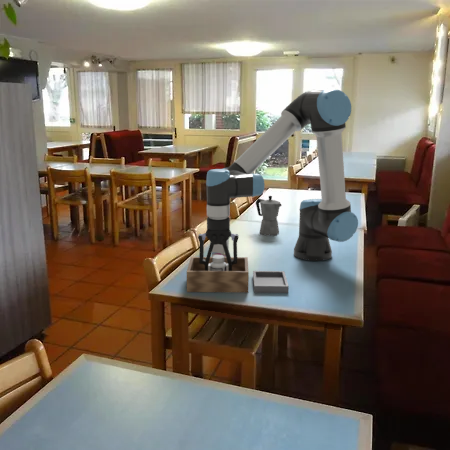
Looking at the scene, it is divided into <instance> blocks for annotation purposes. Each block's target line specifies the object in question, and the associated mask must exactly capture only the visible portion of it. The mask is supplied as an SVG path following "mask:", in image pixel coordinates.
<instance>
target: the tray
mask: <svg viewBox="0 0 450 450" xmlns="http://www.w3.org/2000/svg"><path fill="white" fill-rule="evenodd" d="M287 279H288V278H287V276H286V272H285V270H253V271H252V281H253V291H254V293H256V294H257V293H261V294H262V293H263V294H267V293H268V294H271V293H272V294H288V293H289V288H290V287H289V283H288V280H287Z"/></svg>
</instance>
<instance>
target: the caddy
mask: <svg viewBox="0 0 450 450" xmlns="http://www.w3.org/2000/svg"><path fill="white" fill-rule="evenodd" d="M206 257H207V256H203V259H204V260H206ZM233 259H234V256H231V260H233ZM188 262H189V263H188V265H187V269H186V293H247V294H248V293H249V274H250V273H249V260H248V257H247V256H245V257H243V256H241V257H240V256H237V264H233V265H232V271H205V265H204V264H200V263H199V256H191V257H190V259H189V261H188ZM212 262H213V261H212V256H211V257H210V260H209V263H212ZM224 262H225V263H226V264H228V262H227V258H226V257H224Z"/></svg>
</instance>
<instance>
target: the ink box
mask: <svg viewBox="0 0 450 450" xmlns="http://www.w3.org/2000/svg"><path fill="white" fill-rule="evenodd" d="M226 242H227V246H228V249H229V248H230V247H229V244H230V243H229V242H230V238H229V239H228V240H227V241H226ZM214 255H223V256H224V257H226V255H225V251H224V248H223V245H220V244H216V245H214V246H213V250H212V253H211V257H213V256H214Z"/></svg>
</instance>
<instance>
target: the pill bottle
mask: <svg viewBox="0 0 450 450" xmlns="http://www.w3.org/2000/svg"><path fill="white" fill-rule="evenodd" d="M211 257H212V256H211ZM212 261H213V262H212V263H211V271H226V263H225V262H224V256H223V255H214V256H213V257H212Z"/></svg>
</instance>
